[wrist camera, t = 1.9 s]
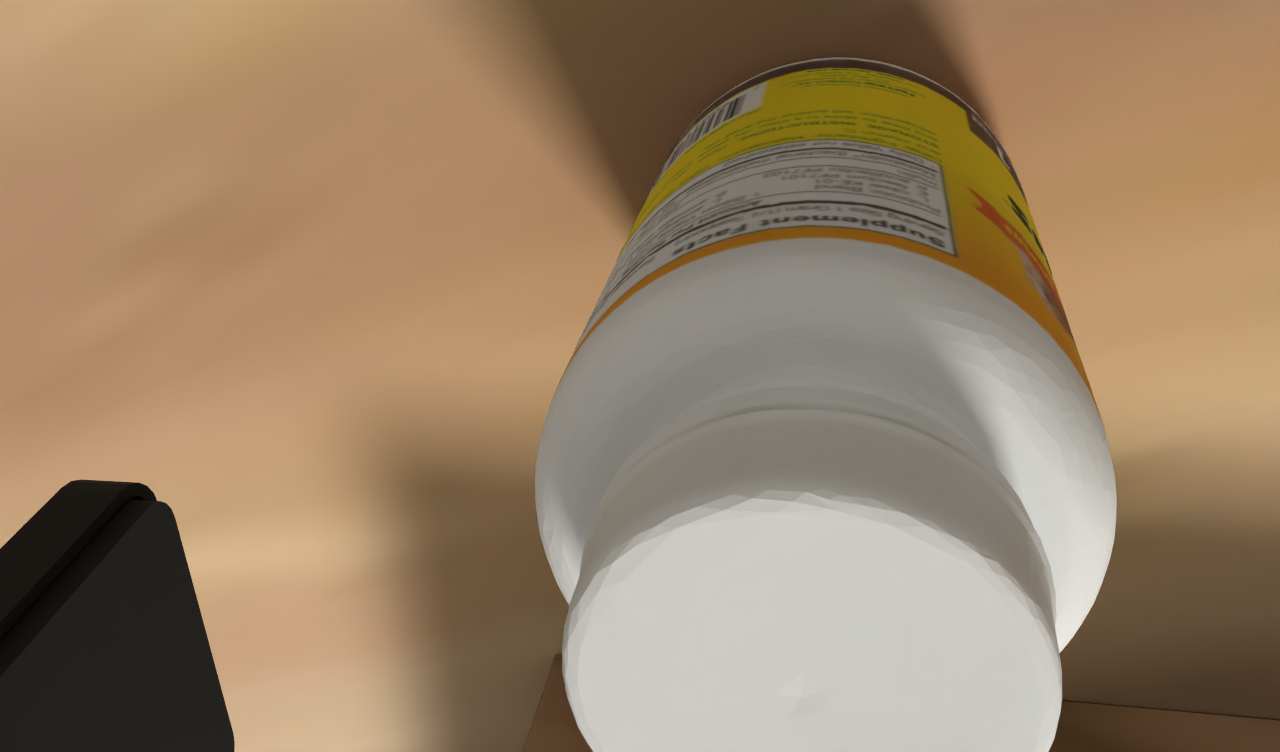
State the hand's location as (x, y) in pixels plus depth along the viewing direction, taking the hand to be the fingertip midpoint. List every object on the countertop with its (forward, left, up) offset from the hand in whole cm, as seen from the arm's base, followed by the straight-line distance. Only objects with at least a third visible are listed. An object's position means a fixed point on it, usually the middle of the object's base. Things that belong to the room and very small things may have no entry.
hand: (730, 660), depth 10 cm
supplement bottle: (-1, 0, -10) cm, 10 cm away
